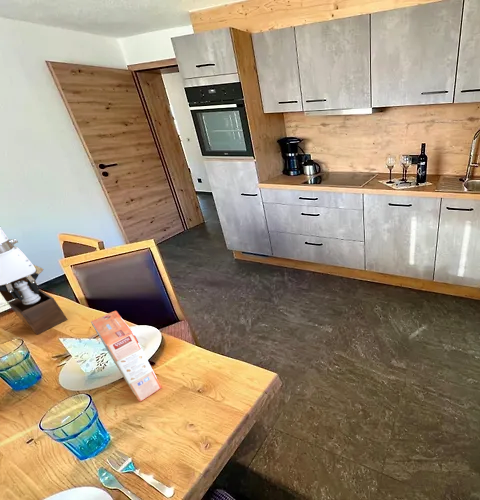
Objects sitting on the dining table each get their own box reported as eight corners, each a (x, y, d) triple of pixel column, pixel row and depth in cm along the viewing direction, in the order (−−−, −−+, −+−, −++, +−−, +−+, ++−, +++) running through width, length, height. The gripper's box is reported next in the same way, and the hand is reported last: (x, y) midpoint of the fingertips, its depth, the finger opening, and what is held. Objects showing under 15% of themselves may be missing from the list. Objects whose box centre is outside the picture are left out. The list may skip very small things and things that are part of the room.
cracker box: (163, 387, 80) (133, 331, 70) (139, 403, 76) (104, 346, 66) (145, 362, 88) (116, 308, 78) (122, 375, 84) (88, 321, 74)
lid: (25, 263, 100) (17, 256, 101) (-11, 275, 93) (-19, 268, 94) (39, 288, 107) (32, 282, 109) (7, 302, 101) (0, 295, 102)
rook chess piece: (23, 301, 100) (10, 282, 96) (41, 295, 103) (28, 277, 99) (23, 307, 97) (9, 287, 94) (41, 301, 100) (28, 282, 96)
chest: (67, 319, 107) (53, 297, 102) (37, 335, 101) (20, 312, 96) (53, 310, 113) (39, 289, 108) (24, 324, 106) (7, 302, 101)
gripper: (25, 236, 98) (54, 280, 107) (-49, 258, 86) (-10, 306, 94) (34, 240, 95) (63, 285, 104) (-42, 263, 82) (-2, 313, 91)
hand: (28, 295), depth 99 cm, fingers closed on rook chess piece, 3 cm apart
